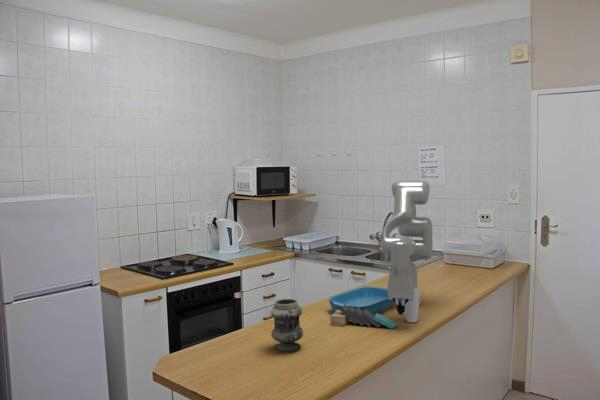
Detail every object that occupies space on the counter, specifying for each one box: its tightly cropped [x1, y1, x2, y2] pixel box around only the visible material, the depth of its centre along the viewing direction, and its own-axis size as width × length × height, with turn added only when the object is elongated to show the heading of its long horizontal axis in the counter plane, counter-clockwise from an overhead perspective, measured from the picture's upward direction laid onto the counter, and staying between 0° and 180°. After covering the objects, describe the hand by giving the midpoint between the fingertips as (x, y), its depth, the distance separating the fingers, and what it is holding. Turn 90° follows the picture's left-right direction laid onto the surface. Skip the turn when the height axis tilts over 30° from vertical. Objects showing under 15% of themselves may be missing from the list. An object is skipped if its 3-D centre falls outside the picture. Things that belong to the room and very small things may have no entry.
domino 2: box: [346, 306, 366, 327], centre depth 212 cm, size 2×5×9 cm
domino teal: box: [373, 312, 397, 330], centre depth 207 cm, size 2×5×9 cm
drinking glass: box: [404, 285, 421, 323], centre depth 214 cm, size 7×7×15 cm
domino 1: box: [340, 304, 358, 325], centre depth 213 cm, size 2×5×9 cm
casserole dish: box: [328, 286, 394, 315], centre depth 233 cm, size 37×22×7 cm, turn 136°
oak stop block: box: [330, 310, 351, 327], centre depth 214 cm, size 10×6×4 cm, turn 158°
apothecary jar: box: [270, 298, 304, 354], centre depth 185 cm, size 12×12×18 cm
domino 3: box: [353, 307, 373, 328], centre depth 211 cm, size 2×5×9 cm
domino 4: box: [361, 309, 382, 329], centre depth 209 cm, size 2×5×9 cm
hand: (400, 313), depth 205 cm, fingers closed
